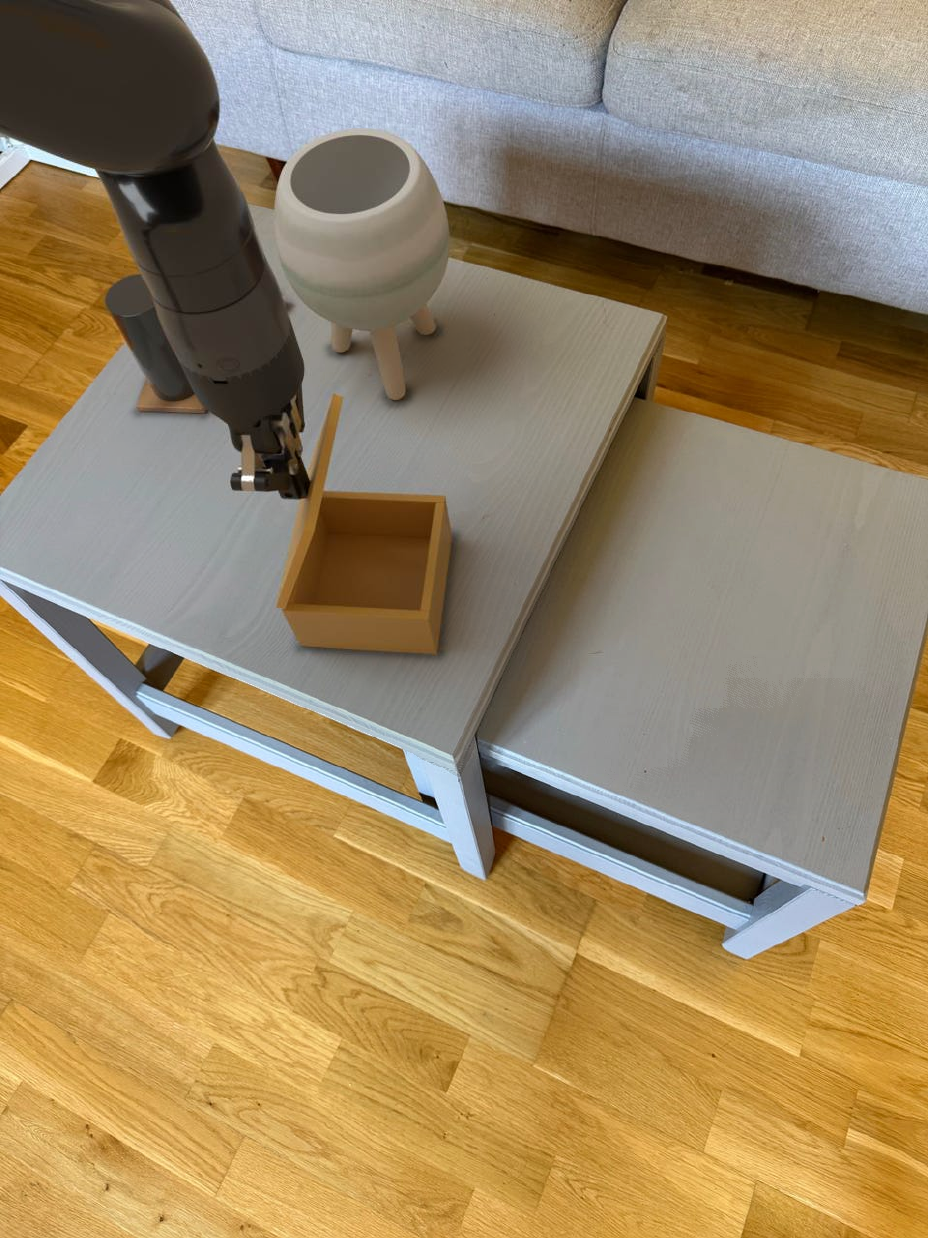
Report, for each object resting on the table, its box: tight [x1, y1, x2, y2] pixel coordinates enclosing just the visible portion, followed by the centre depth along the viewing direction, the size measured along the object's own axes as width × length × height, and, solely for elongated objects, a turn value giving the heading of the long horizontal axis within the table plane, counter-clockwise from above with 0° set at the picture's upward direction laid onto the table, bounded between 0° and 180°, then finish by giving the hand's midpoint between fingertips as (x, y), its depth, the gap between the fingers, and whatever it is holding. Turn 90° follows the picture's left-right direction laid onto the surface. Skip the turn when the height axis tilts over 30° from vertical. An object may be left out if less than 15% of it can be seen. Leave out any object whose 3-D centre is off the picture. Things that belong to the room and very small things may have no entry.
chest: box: [281, 490, 453, 655], centre depth 82 cm, size 13×13×7 cm
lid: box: [275, 393, 344, 610], centre depth 73 cm, size 14×13×1 cm
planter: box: [273, 128, 451, 401], centre depth 89 cm, size 16×16×22 cm
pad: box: [136, 379, 207, 414], centre depth 98 cm, size 8×8×1 cm
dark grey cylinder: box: [104, 273, 195, 401], centre depth 93 cm, size 6×6×12 cm
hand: (296, 491), depth 72 cm, fingers closed
